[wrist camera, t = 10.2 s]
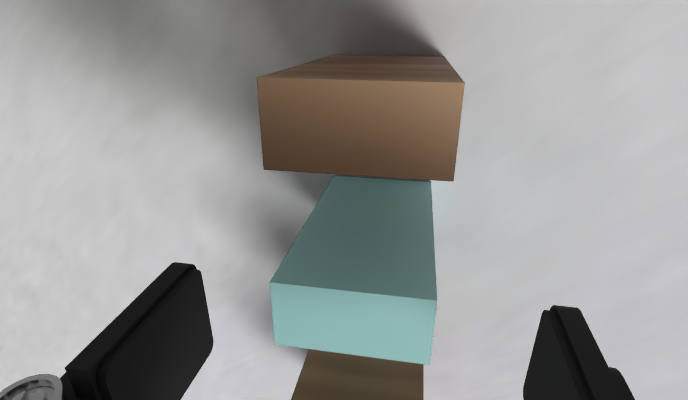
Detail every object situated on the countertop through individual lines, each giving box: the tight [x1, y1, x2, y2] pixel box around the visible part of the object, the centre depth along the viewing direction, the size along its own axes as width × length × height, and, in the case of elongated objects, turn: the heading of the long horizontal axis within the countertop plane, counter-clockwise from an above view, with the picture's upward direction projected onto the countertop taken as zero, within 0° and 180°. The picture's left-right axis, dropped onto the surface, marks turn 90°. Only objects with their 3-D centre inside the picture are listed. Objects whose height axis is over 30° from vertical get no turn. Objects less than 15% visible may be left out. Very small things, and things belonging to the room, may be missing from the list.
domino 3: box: [291, 349, 423, 400], centre depth 19 cm, size 2×5×10 cm, turn 90°
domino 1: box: [257, 55, 465, 181], centre depth 15 cm, size 2×5×10 cm, turn 90°
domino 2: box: [270, 176, 437, 365], centre depth 17 cm, size 2×5×10 cm, turn 90°
